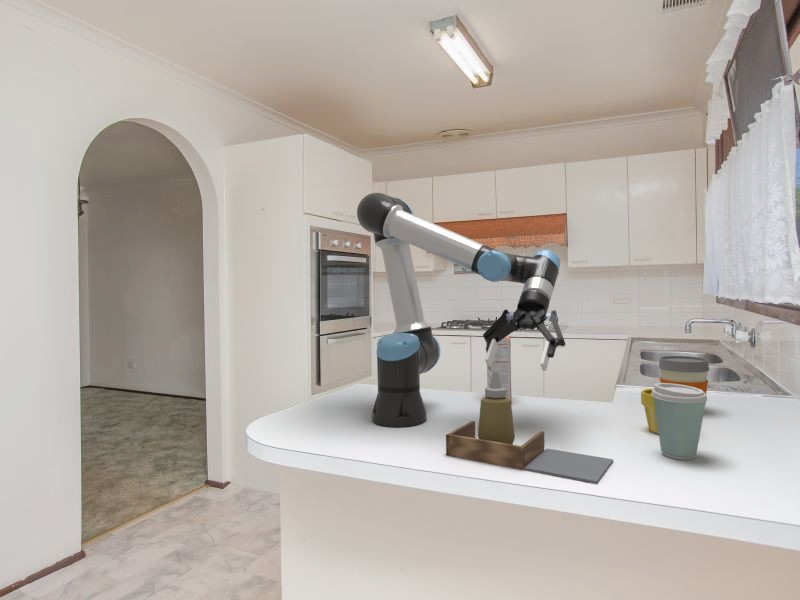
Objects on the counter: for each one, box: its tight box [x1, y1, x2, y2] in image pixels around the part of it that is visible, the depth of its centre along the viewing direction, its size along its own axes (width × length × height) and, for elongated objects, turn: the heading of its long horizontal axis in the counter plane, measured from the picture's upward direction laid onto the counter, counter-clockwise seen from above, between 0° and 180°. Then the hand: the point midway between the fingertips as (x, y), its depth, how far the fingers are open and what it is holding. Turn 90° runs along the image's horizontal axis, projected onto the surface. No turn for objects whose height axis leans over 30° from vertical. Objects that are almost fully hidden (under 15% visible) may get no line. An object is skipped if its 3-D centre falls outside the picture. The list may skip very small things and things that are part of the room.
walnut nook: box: [445, 420, 545, 471], centre depth 115 cm, size 18×13×4 cm
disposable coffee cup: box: [651, 382, 708, 461], centre depth 111 cm, size 11×11×15 cm
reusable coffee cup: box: [658, 355, 710, 395], centre depth 147 cm, size 13×13×15 cm
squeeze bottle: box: [477, 372, 516, 445], centre depth 115 cm, size 8×8×18 cm
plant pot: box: [640, 388, 659, 435], centre depth 129 cm, size 10×10×10 cm
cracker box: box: [485, 335, 513, 405], centre depth 166 cm, size 14×6×21 cm, turn 178°
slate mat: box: [523, 448, 614, 485], centre depth 106 cm, size 14×14×1 cm
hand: (514, 365), depth 123 cm, fingers open, 13 cm apart
